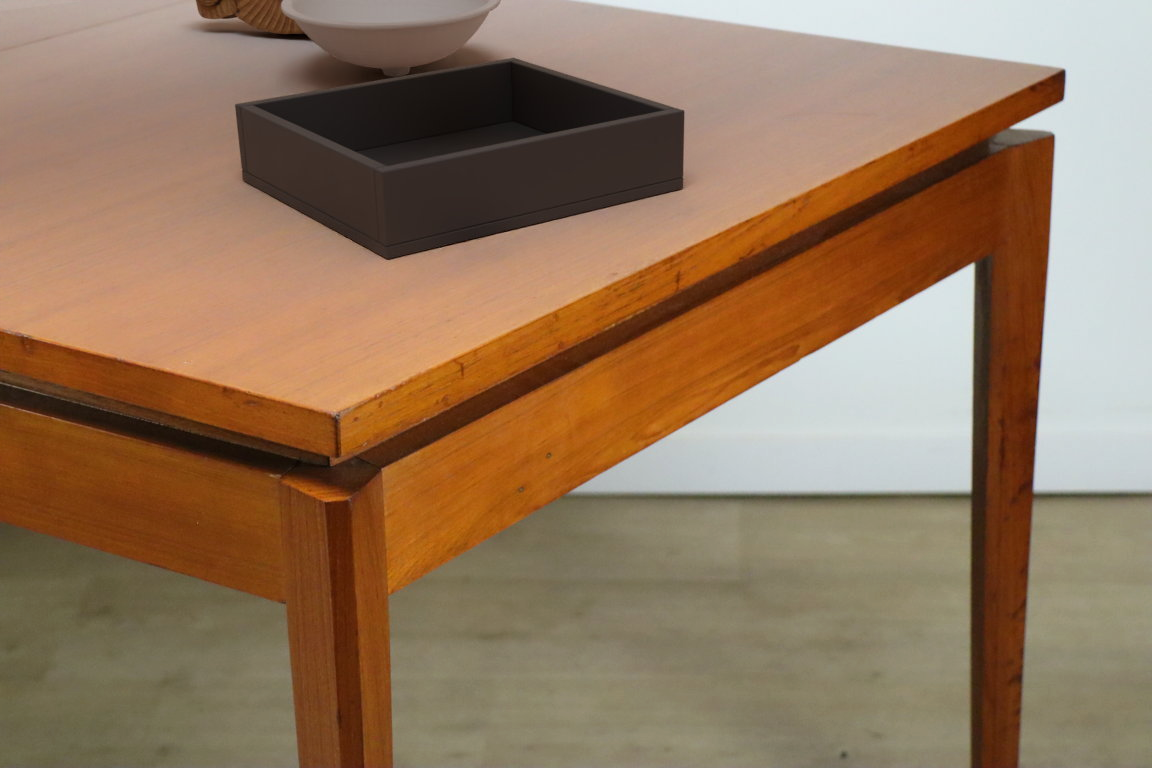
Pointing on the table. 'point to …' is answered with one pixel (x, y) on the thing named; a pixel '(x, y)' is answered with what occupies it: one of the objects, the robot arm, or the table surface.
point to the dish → (389, 29)
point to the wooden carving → (251, 14)
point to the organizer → (458, 152)
